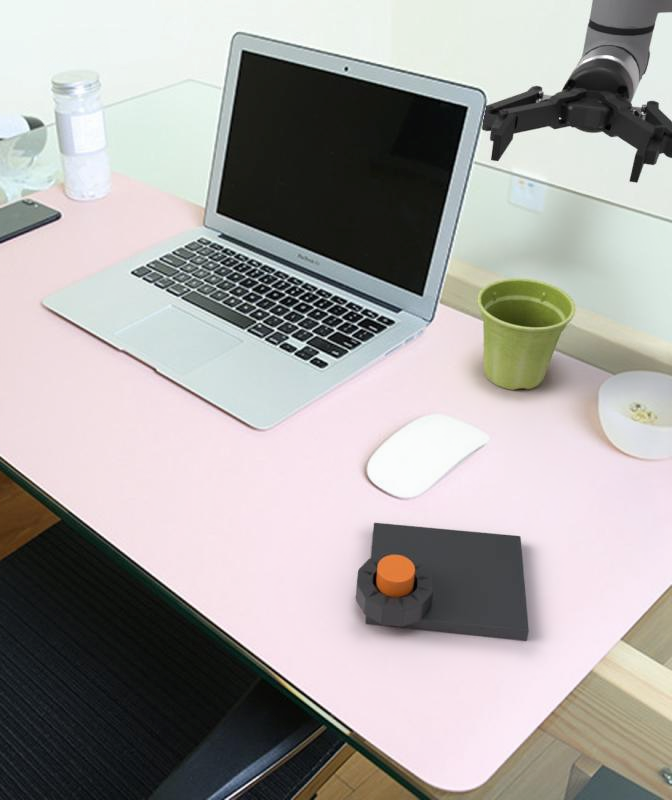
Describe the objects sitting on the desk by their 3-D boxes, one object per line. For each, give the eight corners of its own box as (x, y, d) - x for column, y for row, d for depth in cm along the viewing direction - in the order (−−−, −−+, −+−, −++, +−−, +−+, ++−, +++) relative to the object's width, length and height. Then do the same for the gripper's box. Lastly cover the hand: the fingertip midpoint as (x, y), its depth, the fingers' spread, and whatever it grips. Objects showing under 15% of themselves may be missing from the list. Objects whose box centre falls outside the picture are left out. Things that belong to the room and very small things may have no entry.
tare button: (413, 572, 73) (415, 556, 72) (412, 600, 71) (414, 583, 70) (377, 568, 73) (378, 552, 72) (375, 596, 71) (376, 580, 70)
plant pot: (576, 370, 99) (592, 297, 94) (534, 413, 93) (548, 338, 88) (496, 339, 104) (506, 269, 99) (451, 379, 98) (459, 306, 93)
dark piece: (518, 546, 79) (523, 519, 77) (527, 651, 70) (533, 624, 68) (363, 531, 80) (364, 505, 79) (352, 632, 72) (354, 605, 70)
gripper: (706, 137, 107) (689, 214, 92) (488, 108, 116) (438, 174, 100) (725, 70, 103) (709, 139, 87) (496, 45, 111) (445, 103, 96)
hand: (564, 158), depth 94 cm, fingers open, 13 cm apart
